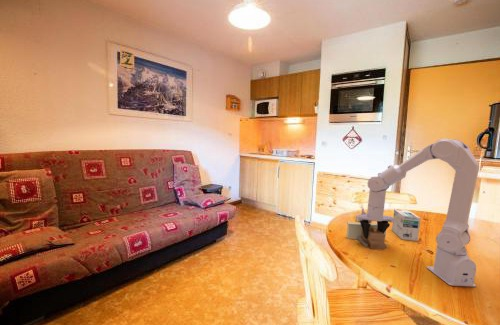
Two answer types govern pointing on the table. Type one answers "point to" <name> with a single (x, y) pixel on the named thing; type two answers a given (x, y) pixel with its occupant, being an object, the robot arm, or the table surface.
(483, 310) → the table surface
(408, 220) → the light bulb box
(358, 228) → the wall board
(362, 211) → the lily
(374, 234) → the cabinet block
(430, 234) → the table surface
